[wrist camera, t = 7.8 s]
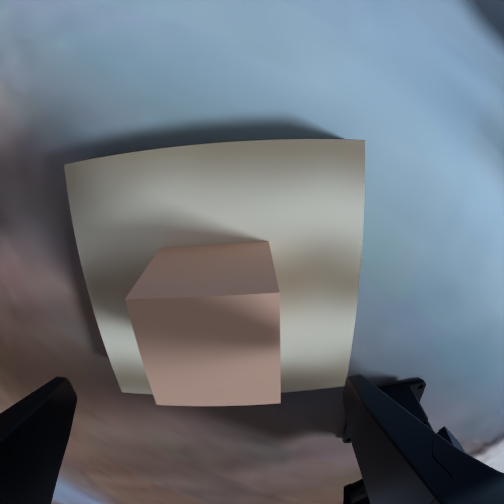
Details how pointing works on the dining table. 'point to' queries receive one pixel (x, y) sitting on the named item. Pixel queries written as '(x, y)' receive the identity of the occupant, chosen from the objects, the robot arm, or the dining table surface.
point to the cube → (209, 325)
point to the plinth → (230, 237)
